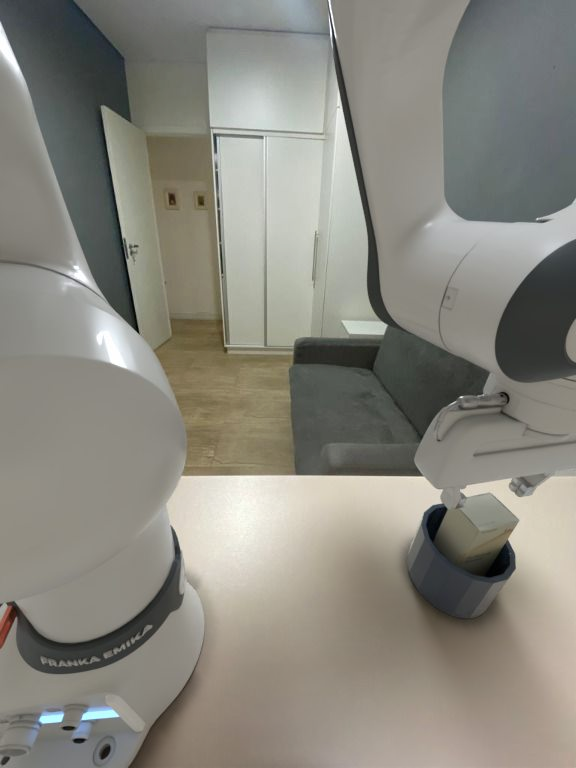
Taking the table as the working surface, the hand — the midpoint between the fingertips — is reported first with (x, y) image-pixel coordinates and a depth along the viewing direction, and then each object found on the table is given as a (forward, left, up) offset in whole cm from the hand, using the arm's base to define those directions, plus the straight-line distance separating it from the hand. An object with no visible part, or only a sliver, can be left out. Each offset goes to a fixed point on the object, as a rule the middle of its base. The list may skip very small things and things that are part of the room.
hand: (485, 497), depth 34 cm
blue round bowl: (0, 0, -15) cm, 15 cm away
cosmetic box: (+1, 0, -15) cm, 15 cm away
